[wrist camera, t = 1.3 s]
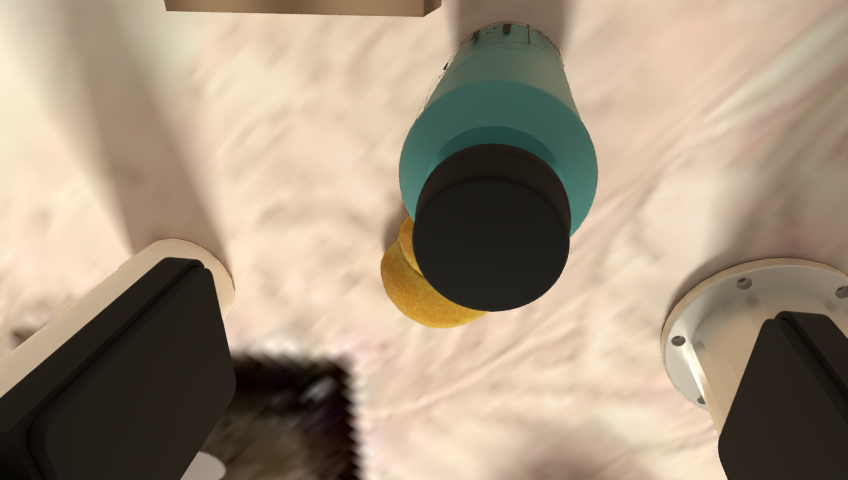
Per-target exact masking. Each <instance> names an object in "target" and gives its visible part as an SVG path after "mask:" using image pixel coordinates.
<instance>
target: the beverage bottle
mask: <svg viewBox="0 0 848 480" xmlns="http://www.w3.org/2000/svg"><path fill="white" fill-rule="evenodd" d="M509 22H512V21H509ZM509 22H506V23H509ZM497 23H498V22H497ZM502 23H503V22H502ZM518 23H519V22H518ZM492 24H493V23H492ZM522 24H523V23H522ZM526 25H527V24H526ZM488 26H490V25H488ZM527 26H528V28H526V27H523V26H519V25H516V24H515V25H512V24H503V25H496V26H492V27H489V28H486V29H484V30H482V29H481V30H482V31H480V28H479V31H478V30H477V32H476V31H474V32H475V33H474V34H473V33H472V35H473V36H472V37H471V38H470V39H469V40H468V41H467V42H466V43H465V44H464V45H463V46H462V47H461V49H460V50H459V51H458V53H457V54H456V56H455V58H454V59H453V61H452V62H451V64H450V66H449V67H448V66H447V64H448V63H447V64H446V66H445V67H444V69H443V70H447V71H446V72H445V74H444V76H443V77H442V79H441V80H440V82H439V84H438V85H437V87H436V89H435V90H434V92H433V94H432V95H431V97H430V99H429V101H428V102H427V104H426V107H425V106H424V111H423V112H422V113H421V114H420V116H419V117H418V118H417V119H416V120H415V123H414V124H413V126H412V127H411V129H410V131H409V133H408V135H407V137H406V140H405V142H404V145H403V148H402V152H401V156H400V162H399V182H400V189H401V193H402V198H403V201H404V204H405V206H406V209H407V211H408V213H409V215H410V217H411V219H412V220H413V222H414V225H413V232H412V246H413V252H414V256H415V259H416V262H417V265H418V267H419V269H420V271H421V273H422V274H423V276H424V278H425V279H426V280H427V282H428V283H429V284H430V285H431V286H432V287H433V288H434V289H435V290H436V291H437V292H438V293H440V294H441V295H442V296H443V297H445V298H446V299H448V300H449V301H451V302H453V303H455V304H457V305H460V306H463V307H465V308H469V309H473V310H479V311H489V312H496V311H505V310H511V309H515V308H519V307H521V306H524V305H527V304H529V303H531V302H533V301H535V300H536V299H538V298H539V297H541V296H542V295H544V294H545V293H546V292H547V291H548V290H549V289H550V288H551V287H552V286H553V285H554V284H555V282H556V281H557V280H558V278H559V277H560V275H561V273H562V271H563V269H564V267H565V265H566V261H567V258H568V254H569V245H570V237H571V236H572V235H573V234H574V233H575V231H576V230H577V229H578V228H579V227H580V225H581V224H582V222H583V221H584V219H585V218H586V216H587V214H588V212H589V210H590V208H591V206H592V203H593V200H594V197H595V193H596V188H597V180H598V167H597V158H596V153H595V149H594V146H593V143H592V140H591V138H590V135H589V133H588V131H587V129H586V127H585V125H584V124H583V122H582V121H581V119H580V116H579V113H578V111H577V108H576V106H575V103H574V100H573V98H572V95H571V91H570V87H569V84H568V81H567V78H566V75H565V72H564V69H563V66H564V64H563V66H562V63H563V61H562V63H561V60H562V58H561V60H560V58H559V56H558V54H557V52H556V49H555V48H556V47H557V46H556V47H555V46H554V45H553V46H554V47H555V48H554V47H553V46H552V44H551V43H550V42H548V41H549V40H550V39H549V38H548V39H549V40H548V39H547V40H548V41H547V40H546V39H545V38H547V35H546V37H545V38H544V36H542V35H544V34H540V33H537V32H540V30H539V31H536V32H535V31H533V30H531V29H529V25H527ZM485 27H486V26H485ZM531 27H532V26H531ZM541 33H542V32H541ZM469 37H470V36H469ZM466 38H467V37H466ZM464 41H465V40H464ZM464 41H462V43H463V42H464ZM551 42H552V41H551ZM462 43H461V44H462ZM558 51H559V50H558ZM559 54H560V53H559ZM451 57H452V56H451ZM560 57H561V56H560ZM451 59H452V58H451ZM449 60H450V59H449ZM446 67H448V68H446ZM439 78H440V77H439ZM439 78H438V79H439ZM429 91H430V90H429ZM428 94H429V93H428ZM426 99H427V98H426ZM425 103H426V102H425ZM419 110H420V109H419Z"/></svg>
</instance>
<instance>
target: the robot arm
mask: <svg viewBox="0 0 848 480" xmlns="http://www.w3.org/2000/svg"><path fill="white" fill-rule="evenodd" d="M660 349H661V355H662V360H663V364H664V367H665V369H666V372H667V375H668V377H669V379H670V380H671V382H672V384H673V385H674V387H675V388H676V389H677V390H678V391H679V392H680V393H681V394H682V395H683V396H684V397H685V398H686V399H687V400H688V401H690V402H691V403H693V404H694V405H696V406H697V407H699V408H702V409H704V410H706V411H708V412H709V413H710V416H711V418H712V421H713V423H714V425H715V428H716V430H717V433H718V435H719V441H718V453H719V458H720V461H721V464H722V466H723V469H724V471H725V474H726V476H727V479H728V480H848V276H847V275H846V274H845V273H843V272H841V271H839V270H837V269H835V268H832V267H830V266H828V265H826V264H822V263H818V262H814V261H810V260H805V259H793V258H775V259H762V260H757V261H753V262H748V263H743V264H740V265H737V266H734V267H732V268H729V269H726V270H723V271H721V272H719V273H717V274H715V275H713V276H711V277H710V278H708V279H706V280H704V281H702V282H701V283H700V284H698V285H697V286H696V287H695V288H693V289H692V290H691V291H689V292H688V293H687V294H686V295H685V296H684V297H683V298H682V299H681V300H680V302H679V303H678V304H677V305H676V306H675V307H674V309H673V311H672V312H671V314H670V315H669V317H668V319H667V320H666V323H665V326H664V329H663V332H662V336H661V348H660ZM235 388H236V379H235V374H234V370H233V365H232V360H231V356H230V351H229V347H228V342H227V338H226V333H225V328H224V324H223V319H222V315H221V310H220V306H219V301H218V296H217V292H216V287H215V283H214V278H213V275H212V272H211V271H210V269H208V268H205V267H204V264H203V263H202V262H201V261H200V260H198V259H188V258H177V257H165V258H164V259H162V260H161V261H159V262H158V263H157V264H156V265H155V266H154V267H152V268H151V269H150V270H149V271H148V272H147V273H145V274H144V275H143V276H142V277H141V278H140V279H138V280H137V281H136V282H135V283H134V284H133V285H131V286H130V287H129V288H128V289H127V290H126V291H124V292H123V293H122V294H121V295H120V296H119V297H117V298H116V299H115V300H114V301H113V302H112V303H110V304H109V305H108V306H107V307H106V308H105V309H103V310H102V311H101V312H100V313H99V314H98V315H96V316H95V317H94V318H93V319H92V320H91V321H89V322H88V323H87V324H86V325H85V326H84V327H82V328H81V329H80V330H79V331H78V332H77V333H75V334H74V335H73V336H72V337H71V338H69V339H68V340H67V341H66V342H65V343H64V344H62V345H61V346H60V347H59V348H58V349H57V350H55V351H54V352H53V353H52V354H51V355H50V356H48V357H47V358H46V359H45V360H44V361H43V362H41V363H40V364H39V365H38V366H37V367H36V368H34V369H33V370H32V371H31V372H30V373H29V374H27V375H26V376H25V377H24V378H23V379H22V380H20V381H19V382H18V383H17V384H16V385H15V386H13V387H12V388H11V389H10V390H9V391H8V392H6V393H5V394H4V395H3V396H2V397H1V398H0V480H180V479H181V478H182V476H183V474H184V473H185V471H186V470H187V468H188V467H189V465H190V464H191V462H192V461H193V459H194V457H195V456H196V454H197V453H198V451H199V450H200V448H201V447H202V445H203V443H204V442H205V440H206V439H207V437H208V436H209V434H210V433H211V431H212V429H213V428H214V426H215V425H216V423H217V422H218V420H219V419H220V417H221V415H222V414H223V412H224V411H225V409H226V408H227V406H228V405H229V403H230V401H231V400H232V398H233V395H234V392H235Z"/></svg>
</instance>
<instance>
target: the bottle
mask: <svg viewBox="0 0 848 480" xmlns="http://www.w3.org/2000/svg"><path fill="white" fill-rule="evenodd" d="M165 257H177V258H188V259H198V260H200V261H201V262H202V263H203V264H204V267H205V268H208V269H210V271H211V272H212V275H213V278H214V283H215V287H216V292H217V296H218V301H219V306H220V310H221V315H222V319H223V320H224V319H225V316H226V315H227V314H228V312H229V311H230V310H231V308H232V307H233V301H234V296H235V292H234V288H233V284H232V280H231V277H230V276H229V274H228V273H227V271H226V269H225V268H224V266H223V265H222V263H221V262H220V261H219V260H217V259H216V258H215V257H214V256H213V255H212V254H211V253H210V252H209V251H207V250H206V249H204V248H202V247H200V246H198V245H196V244H194V243H192V242H189V241H185V240H180V239H175V238H171V239H164V240H157V241H156V242H154V243H153V244H151V245H149V246H148V247H146V248H145V249H144V250H142V251H140V252H139V253H137V254H135V255H134V256H132V257H131V258H129V259H128V260H127V261H125V262H124V263H123V264H122V265H121V266H120V267H119V268H118V270H116V271H115V272H114V273H113V274H111V275H110V276H109V277H107V278H106V279H105V280H104V281H102V282H101V283H100V284H98V285H97V286H96V287H94V288H93V289H92V290H91V291H89V292H88V293H87V294H85V295H84V296H83V297H82V298H80V299H79V300H78V301H76V302H75V303H74V304H73V305H71V306H70V307H69V308H67V309H66V310H65V311H64V312H62V313H61V314H60V315H58V316H57V317H56V318H54V319H53V320H52V321H51V322H49V323H48V324H47V325H45V326H44V327H43V328H42V329H40V330H39V331H38V332H36V333H35V334H34V335H33V336H31V337H30V338H29V339H27V340H26V341H25V342H24V343H22V344H21V345H20V346H18V347H17V348H16V349H14V350H13V351H12V352H11V353H9V354H8V355H7V356H5V357H4V358H3V359H2V360H0V398H1V397H2V396H3V395H4V394H5V393H6V392H8V391H9V390H10V389H11V388H12V387H13V386H15V385H16V384H17V383H18V382H19V381H20V380H22V379H23V378H24V377H25V376H26V375H27V374H29V373H30V372H31V371H32V370H33V369H34V368H36V367H37V366H38V365H39V364H40V363H41V362H43V361H44V360H45V359H46V358H47V357H48V356H50V355H51V354H52V353H53V352H54V351H55V350H57V349H58V348H59V347H60V346H61V345H62V344H64V343H65V342H66V341H67V340H68V339H69V338H71V337H72V336H73V335H74V334H75V333H77V332H78V331H79V330H80V329H81V328H82V327H84V326H85V325H86V324H87V323H88V322H89V321H91V320H92V319H93V318H94V317H95V316H96V315H98V314H99V313H100V312H101V311H102V310H103V309H105V308H106V307H107V306H108V305H109V304H110V303H112V302H113V301H114V300H115V299H116V298H117V297H119V296H120V295H121V294H122V293H123V292H124V291H126V290H127V289H128V288H129V287H130V286H131V285H133V284H134V283H135V282H136V281H137V280H138V279H140V278H141V277H142V276H143V275H144V274H145V273H147V272H148V271H149V270H150V269H151V268H152V267H154V266H155V265H156V264H157V263H158V262H159V261H161V260H162V259H164V258H165Z"/></svg>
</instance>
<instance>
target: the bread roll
mask: <svg viewBox="0 0 848 480" xmlns="http://www.w3.org/2000/svg"><path fill="white" fill-rule="evenodd" d="M413 225H414V222H413V220H412V219H411V217H410V216H408V217H407V218H406V219H405V220H404V221H403V223H402V225H401V226H400V229H399V233H398V238H397V240H396V241H395V242H394V243H393V244H392V245H391V246H390V247H389V249H388V250H387V251H386V252H385V254H384V256H383V258H382V261H381V277H382V280H383V284H384V288H385V291H386V293H387V295H388V296H389V298H390V299H391V301H392V302H393V303H394V304H395V306H396V307H397V308H398V309H399V310H400V311H401V312H402V313H403V314H405V315H406V316H407V317H409V318H410V319H412V320H413V321H415V322H417V323H420V324H422V325H424V326H428V327H431V328H452V327H457V326H461V325H464V324H467V323H470V322H472V321H474V320H476V319H478V318H480V317H482V316H484V315H485V314H486V313H487V312H489V311H479V310H473V309H469V308H465V307H463V306H460V305H457V304H455V303H453V302H451V301H449V300H448V299H446V298H445V297H443V296H442V295H441V294H440V293H438V292H437V291H436V290H435V289H434V288H433V287H432V286H431V285H430V284H429V283H428V282H427V280H426V279H425V278H424V276H423V274H422V273H421V271H420V269H419V267H418V265H417V262H416V259H415V256H414V252H413V246H412V232H413Z"/></svg>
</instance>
